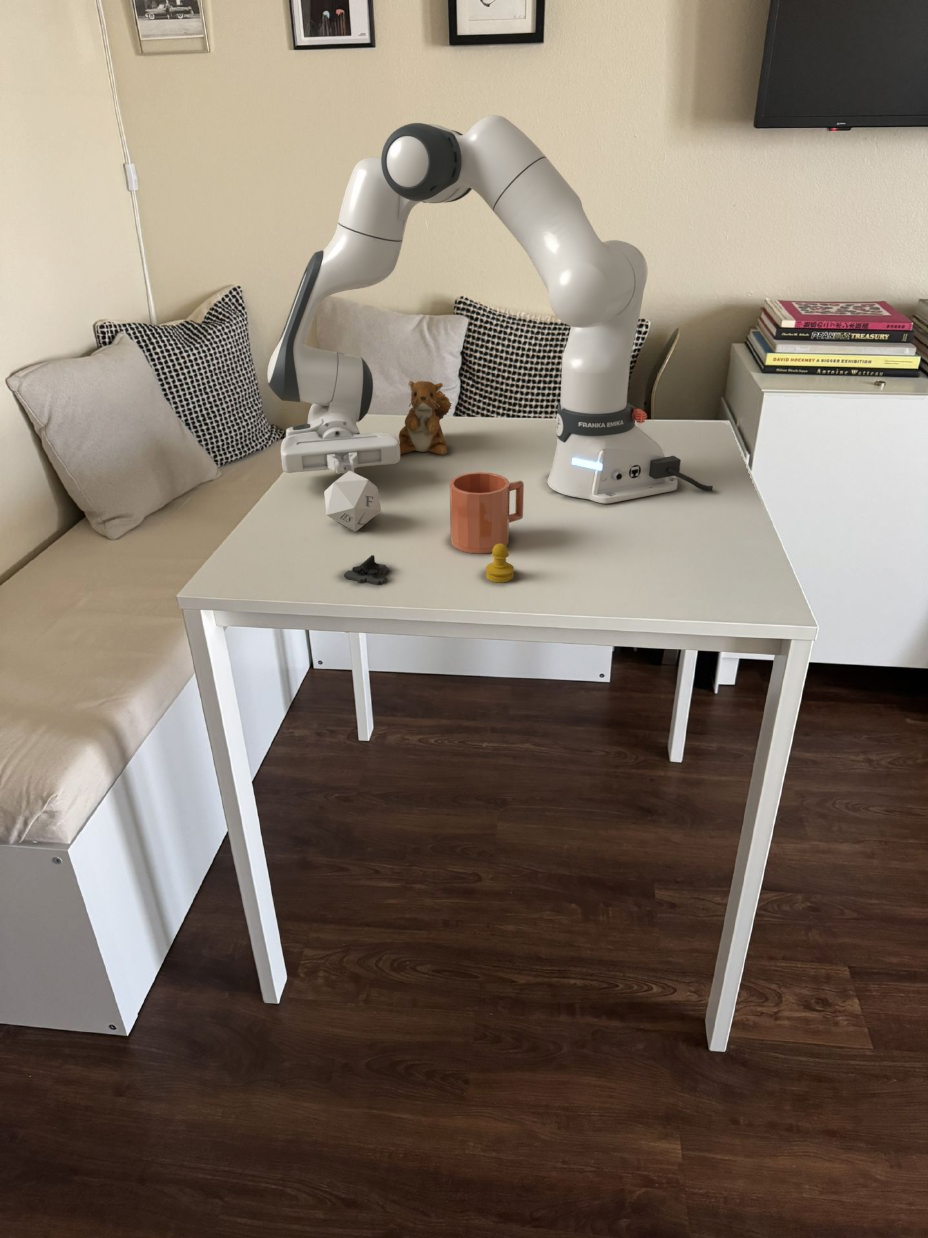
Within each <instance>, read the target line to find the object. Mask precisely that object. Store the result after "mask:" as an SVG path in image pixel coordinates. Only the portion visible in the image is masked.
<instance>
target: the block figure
mask: <svg viewBox="0 0 928 1238" xmlns="http://www.w3.org/2000/svg"><path fill="white" fill-rule="evenodd" d="M389 569H390V568H388V566H387V565H386V564H383V563H377V562H376V559H375V555H374V554H371V555H370V556H369V557H368V558H367V559H366V560H364V561H363V562H362V563H361V564H360V565H358V566H353V567H352V568H351V570H347V571H345V572H344V574H343V577H344V578H345V579H346V580H350V581H356V583H358V584H361V583H365V582H366V583H367V584H372V585H376V586H377V585H380V584H381V585H383V583H385V582H386V581H387V577H386V574H387V573H389V572H390V571H389Z"/></svg>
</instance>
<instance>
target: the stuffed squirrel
mask: <svg viewBox="0 0 928 1238" xmlns="http://www.w3.org/2000/svg"><path fill="white" fill-rule="evenodd" d="M407 385H408V388H409V390H410V393H411V394H410V397H411V398H410V403H409V405H408V407H409V408H410V407H411V406H412V407H411V408H410V409H409V410H408V414H407V415H406V417H405V419H404V426H403V427H402V428H401V429H400V431H399V432H398V440H399V441H398V442H399V445H400V456H401V455H404V454H408V453H410V452H413V451H415V452H420V453H423V452H425V453H426V452H430V453H434V454H437V455H441V456H444V455H446V454H447V452H448V446H447V441H446V439H445V437H444V432H443V429H442V426H441V422H440V420H442V419H444V416H447V414H448V413H449V412H450V410H452V402H451V401H450V399H449V397H448V396H446V394H445V393H443V391H442V390H441V389H442V388H443V387H444V385H443V383H442V382H439V383H436V384H435V383H433V382H431V381H427V380H426V381H424V380H419V381H416V382H414V381H412V380H409V381H408V382H407Z"/></svg>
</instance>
